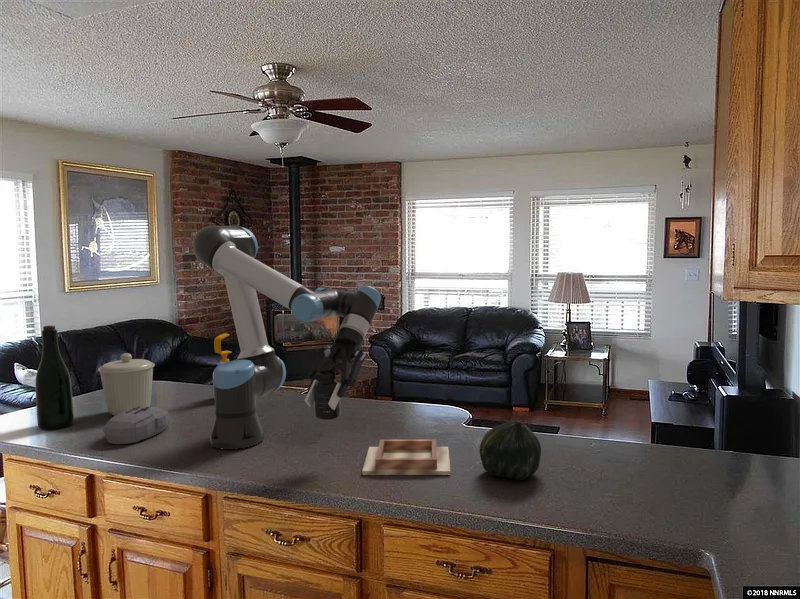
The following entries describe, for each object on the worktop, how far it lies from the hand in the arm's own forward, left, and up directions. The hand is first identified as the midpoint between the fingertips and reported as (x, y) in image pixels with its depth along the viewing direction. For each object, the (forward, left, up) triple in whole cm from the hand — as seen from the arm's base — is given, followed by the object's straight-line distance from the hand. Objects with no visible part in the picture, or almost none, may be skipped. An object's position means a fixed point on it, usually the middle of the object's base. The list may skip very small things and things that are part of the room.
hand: (319, 405), depth 159 cm
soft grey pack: (-62, +25, -17) cm, 69 cm away
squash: (+49, -6, -16) cm, 52 cm away
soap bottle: (-48, +69, -16) cm, 86 cm away
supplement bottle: (+2, +3, -4) cm, 6 cm away
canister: (-76, +50, -16) cm, 93 cm away
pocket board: (+23, +2, -16) cm, 28 cm away
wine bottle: (-93, +35, -16) cm, 101 cm away
